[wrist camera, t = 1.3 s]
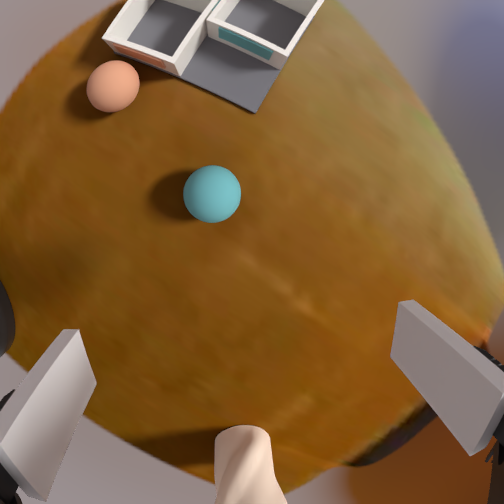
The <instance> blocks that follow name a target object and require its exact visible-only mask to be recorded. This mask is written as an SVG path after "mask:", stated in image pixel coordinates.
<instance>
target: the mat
mask: <svg viewBox="0 0 504 504" xmlns="http://www.w3.org/2000/svg"><path fill="white" fill-rule="evenodd" d="M201 14H202V13H200V12H198V11H195V10H192V9H189V8H186V7H183V6H180V5H177V4H174V3H171V2H168V1H164V0H155V1H154V2H153V4H152V5H151V6H150V8H149V9H148V10H147V12H146V13H145V15H144V16H143V17H142V19H141V20H140V22H139V23H138V24H137V26H136V27H135V29H134V30H133V32H132V33H131V35H130V36H129V38H128V39H127V41H129V42H132V43H135V44H138V45H141V46H144V47H147V48H150V49H152V50H155V51H158V52H160V53H163V54H166V55H168V56H171V57H172V56H173V55H174V53H175V52H176V50H177V49H178V47H179V46H180V44H181V43H182V41H183V40H184V38H185V37H186V35H187V34H188V32H189V31H190V29H191V28H192V26H193V25H194V24H195V22H196V21H197V19H198V18H199V17H200V15H201ZM314 17H315V16H313V18H314ZM305 18H306V16H304V15H302V14H300V13H298V12H296V11H294V10H292V9H290V8H288V7H286V6H284V5H282V4H280V3H278V2H276V1H274V0H240V1H239V2H238V4H237V5H236V6H235V8H234V9H233V10H232V12H231V13H230V14H229V16H228V17H227V19H226V20H225V21H224V22H226V23H229V24H231V25H233V26H236V27H238V28H240V29H243V30H245V31H247V32H249V33H252V34H254V35H256V36H258V37H260V38H262V39H264V40H266V41H268V42H270V43H272V44H274V45H276V46H278V47H280V48H282V49H284V50H285V49H286V48H287V46H288V45H289V43H290V41H291V40H292V38H293V37H294V35H295V34H296V32H297V31H298V29H299V27H300V26H301V24H302V23H303V21H304V20H305ZM313 18H312V19H311V21H312V20H313ZM311 21H310V22H309V24H310V23H311ZM309 24H308V26H309ZM308 26H307V27H308ZM307 27H306V29H307ZM306 29H305V30H306ZM305 30H304V32H305ZM304 32H303V33H302V35H303V34H304ZM302 35H301V36H300V38H301V37H302ZM300 38H299V40H300ZM299 40H298V41H299ZM298 41H297V43H298ZM297 43H296V44H295V46H296V45H297ZM295 46H294V48H295ZM294 48H293V49H294ZM293 49H292V51H293ZM292 51H291V52H290V54H291V53H292ZM114 53H115V54H118V55H121V56H124V57H126V58H129V59H132V60H135V61H137V62H140V63H143V64H145V65H148V66H151V67H153V68H156V69H158V70H161V71H163V72H166V73H168V74H171V75H173V76H175V77H178V78H180V79H183V80H185V81H187V82H190V83H192V84H194V85H196V86H199V87H201V88H203V89H205V90H207V91H210V92H212V93H214V94H216V95H218V96H220V97H222V98H224V99H227V100H229V101H231V102H233V103H235V104H237V105H239V106H241V107H243V108H245V109H247V110H249V111H251V112H253V113H256V112H257V110H258V108H259V106H260V105H261V103H262V101H263V99H264V98H265V96H266V94H267V93H268V91H269V89H270V87H271V86H272V84H273V82H274V81H275V79H276V77H277V76H278V74H279V72H280V71H281V69H282V67H283V66H284V64H285V62H286V61H287V59H288V58H289V56H290V54H289V56H288V57H287V59H286V60H285V62H284V64H283V65H282V67H281V69H280V70H278V69H276V68H275V67H273V66H271V65H269V64H267V63H265V62H263V61H261V60H259V59H257V58H255V57H253V56H251V55H248V54H246V53H244V52H242V51H240V50H238V49H235V48H233V47H231V46H229V45H226V44H224V43H222V42H220V41H217V40H215V39H212V38H210V37H208V34H207V36H206V37H205V39H204V40H203V42H202V43H201V45H200V46H199V48H198V49H197V51H196V52H195V54H194V55H193V57H192V58H191V60H190V62H189V63H188V65H187V66H186V68H185V70H184V71H183V73H182V75H181V76H178V75H175V74H173V73H170V72H168V71H166V70H163V69H161V68H158V67H156V66H153V65H150V64H148V63H145V62H142V61H140V60H137V59H134V58H131V57H129V56H126V55H123V54H120V53H117V52H115V51H114Z"/></svg>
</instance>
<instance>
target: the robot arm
mask: <svg viewBox="0 0 504 504" xmlns="http://www.w3.org/2000/svg"><path fill="white" fill-rule="evenodd" d="M14 336H15V320H14V314H13V310H12V306H11V303H10V300H9V298H8V295H7V293H6V290H5V288H4V286H3V285H2V283H1V281H0V357H1V356H2V355H3V354H4V353H5V352H6V351H7V350H8V349H9V348H10V347H11V345H12V343H13V340H14ZM390 357H391V358H392V360H393V361H394V362H395V363H396V364H397V366H398V367H399V368H400V369H401V370H402V372H403V373H404V374H405V375H406V377H407V378H408V379H409V380H410V381H411V383H412V384H413V385H414V386H415V387H416V389H417V390H418V391H419V392H420V394H421V395H422V396H423V397H424V399H425V400H426V401H427V402H428V403H429V405H430V406H431V407H432V408H433V410H434V411H435V412H436V413H437V415H438V416H439V417H440V418H441V419H442V421H443V422H444V423H445V425H446V426H447V427H448V429H449V430H450V431H451V432H452V434H453V435H454V436H455V438H456V439H457V440H458V441H459V443H460V444H461V445H462V446H463V448H464V449H465V450H466V452H467V453H468V454H469V456H471V455H473V454H475V453H477V452H478V451H480V450H482V449H484V448H485V447H486V446H487V444H488V442H489V441H490V439H491V438H492V436H495V438H496V439H497V441H496V443H495V445H494V446H493V448H492V449H491V451H490V453H489V454H488V456H487V458H486V460H485V462H488V461H489V459H490V458H491V456H492V455H493V460H492V463H493V464H492V474H491V483H490V490H489V497H488V503H487V504H504V365H501V363H500V362H499V361H497V360H495V358H494V357H493V356H491V355H490V354H489V353H488V352H487V351H485V350H483V349H480V348H478V347H476V346H472V345H471V344H469V343H468V342H467V341H466V340H464V339H463V338H462V337H461V336H459V335H458V334H457V333H456V332H454V331H453V330H452V329H451V328H449V327H448V326H447V325H446V324H444V323H443V322H442V321H440V320H439V319H438V318H437V317H435V316H434V315H433V314H431V313H430V312H429V311H427V310H426V309H425V308H424V307H422V306H421V305H420V304H418V303H417V302H416V301H414V300H408V301H402V302H399V303H398V311H397V318H396V325H395V331H394V337H393V343H392V349H391V354H390ZM96 384H97V383H96V380H95V377H94V375H93V372H92V369H91V366H90V363H89V360H88V358H87V355H86V352H85V348H84V345H83V342H82V339H81V336H80V332H79V330H76V329H63V331H62V332H61V333H60V334H59V335H58V337H57V338H56V339H55V340H54V341H53V343H52V344H51V345H50V346H49V348H48V349H47V350H46V351H45V352H44V354H43V355H42V356H41V357H40V359H39V360H38V361H37V363H36V364H35V365H34V366H33V368H32V369H31V370H30V372H29V373H28V374H27V375H26V377H25V378H24V379H23V381H22V382H21V384H20V385H19V386H18V387H17V389H16V390H12V391H11V392H10V393H8V394H7V395H6V396H4V397H3V399H2V400H1V401H0V504H22V501H21V499H20V497H19V496H18V494H17V493H16V490H17V488H18V486H19V487H20V488H21V489H22V490H23V491H24V492H25V493H26V494H27V496H29V497H32V498H35V499H38V500H42V501H45V502H46V501H47V498H48V496H49V493H50V490H51V487H52V485H53V482H54V479H55V477H56V475H57V472H58V469H59V467H60V465H61V462H62V460H63V457H64V455H65V453H66V450H67V448H68V445H69V443H70V441H71V438H72V436H73V434H74V432H75V429H76V427H77V425H78V422H79V420H80V418H81V416H82V414H83V412H84V409H85V407H86V405H87V403H88V401H89V399H90V397H91V395H92V392H93V390H94V388H95V386H96Z"/></svg>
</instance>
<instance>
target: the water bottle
mask: <svg viewBox="0 0 504 504" xmlns="http://www.w3.org/2000/svg"><path fill="white" fill-rule="evenodd" d="M214 474H215V485H216V492H217V497H216V501H215V504H287V502H286V499H285V497H284V495H283V493H282V491H281V489H280V487H279V485H278V483H277V481H276V478H275V475H274V469H273V461H272V452H271V443H270V437H269V435H268V433H267V432H266V431H264V430H263V429H261V428H259V427H256V426H251V425H239V426H234V427H231V428H228V429H226V430H224V431H222V432H221V433H219V434H218V435H217V437H216V439H215V463H214Z"/></svg>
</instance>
